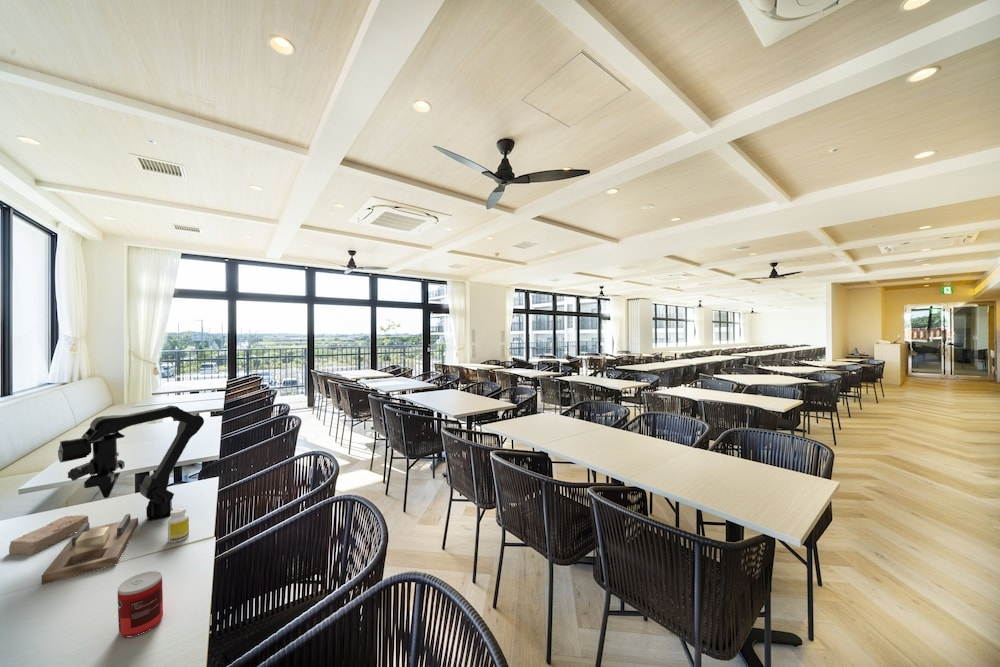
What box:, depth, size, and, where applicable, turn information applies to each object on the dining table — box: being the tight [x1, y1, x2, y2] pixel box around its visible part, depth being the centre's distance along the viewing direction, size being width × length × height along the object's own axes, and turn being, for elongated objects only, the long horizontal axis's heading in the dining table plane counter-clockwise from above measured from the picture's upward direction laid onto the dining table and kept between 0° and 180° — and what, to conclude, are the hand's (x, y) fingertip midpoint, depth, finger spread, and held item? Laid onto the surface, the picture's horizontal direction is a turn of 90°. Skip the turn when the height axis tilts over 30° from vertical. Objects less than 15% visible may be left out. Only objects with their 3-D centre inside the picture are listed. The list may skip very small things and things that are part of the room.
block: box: [76, 527, 110, 554], centre depth 118 cm, size 6×6×4 cm
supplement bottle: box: [167, 507, 190, 543], centre depth 127 cm, size 5×5×10 cm
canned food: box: [117, 570, 164, 638], centre depth 90 cm, size 8×8×11 cm
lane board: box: [41, 513, 139, 585], centre depth 120 cm, size 15×28×5 cm, turn 34°
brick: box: [8, 514, 89, 556], centre depth 126 cm, size 17×8×5 cm, turn 1°
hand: (106, 497), depth 129 cm, fingers closed
